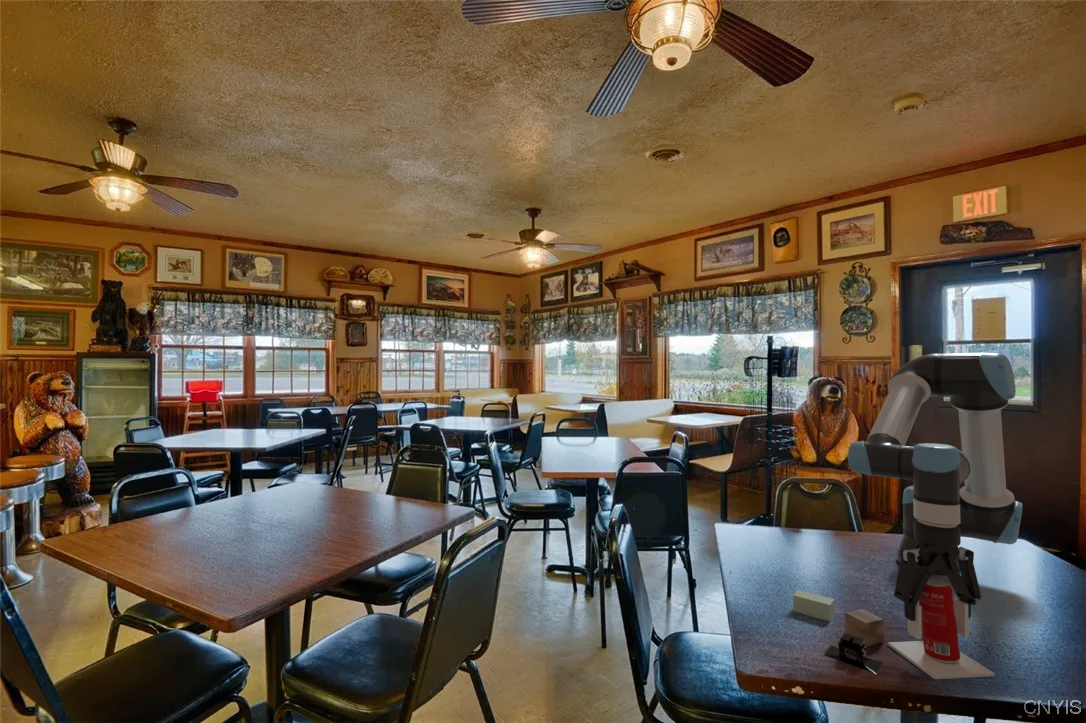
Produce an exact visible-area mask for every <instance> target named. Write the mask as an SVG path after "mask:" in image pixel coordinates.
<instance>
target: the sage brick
mask: <svg viewBox="0 0 1086 723" xmlns="http://www.w3.org/2000/svg"><path fill="white" fill-rule="evenodd" d="M792 596H793V597H792V600H793V601H792V604H793V605H792V607H793V609H792V611H793V612H795V613H799V614H802V615H805V616H810V617H812V618H816V619H819V620H824V621H827V622H832V620H833V618H834V617H835V613H836V612H835V611H836V610H835V607H836V606H835V599H834V598H832V597H827V596H823V595H819V594H816V593H811V592H808V591H804V590H800V589H797V590H796V591H795V593H794V594H793V595H792Z"/></svg>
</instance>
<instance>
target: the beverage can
mask: <svg viewBox="0 0 1086 723" xmlns="http://www.w3.org/2000/svg"><path fill="white" fill-rule="evenodd" d="M953 591H954V589H953V587H952V585H951V583H950V581H949V580H947V579H944V578H941V577H936V576H930V577H929V579H928V581H927V584H926V586H925V588H924V590H923V592H922V594H921V596H920V599H919V601H918V604H919V605H920V606H921V616H922V641H923V643H924V651H925V653H926V654H927V655H928V656H929V657H930V658H932V659H934V660H937V661H940V662H945V663H954V662H957V661H959V659H960V652H961V651H960V644H959V636H958V635H959V633H957V624H956V615H955V607H954V598H955V597H954V592H953Z"/></svg>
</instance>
